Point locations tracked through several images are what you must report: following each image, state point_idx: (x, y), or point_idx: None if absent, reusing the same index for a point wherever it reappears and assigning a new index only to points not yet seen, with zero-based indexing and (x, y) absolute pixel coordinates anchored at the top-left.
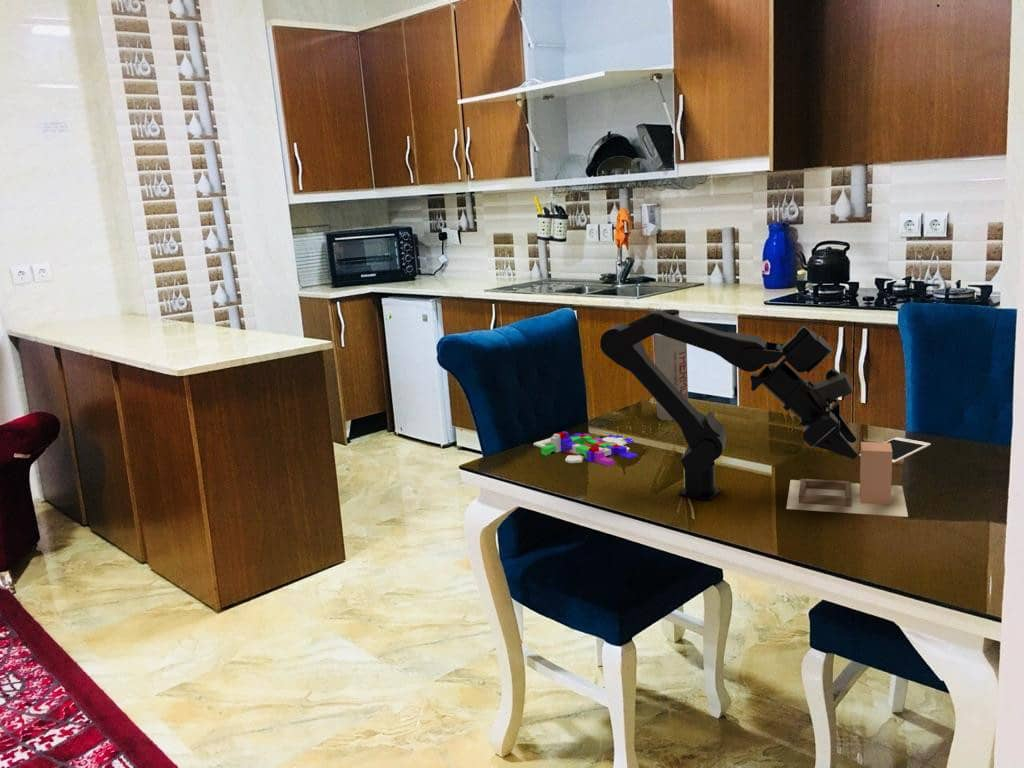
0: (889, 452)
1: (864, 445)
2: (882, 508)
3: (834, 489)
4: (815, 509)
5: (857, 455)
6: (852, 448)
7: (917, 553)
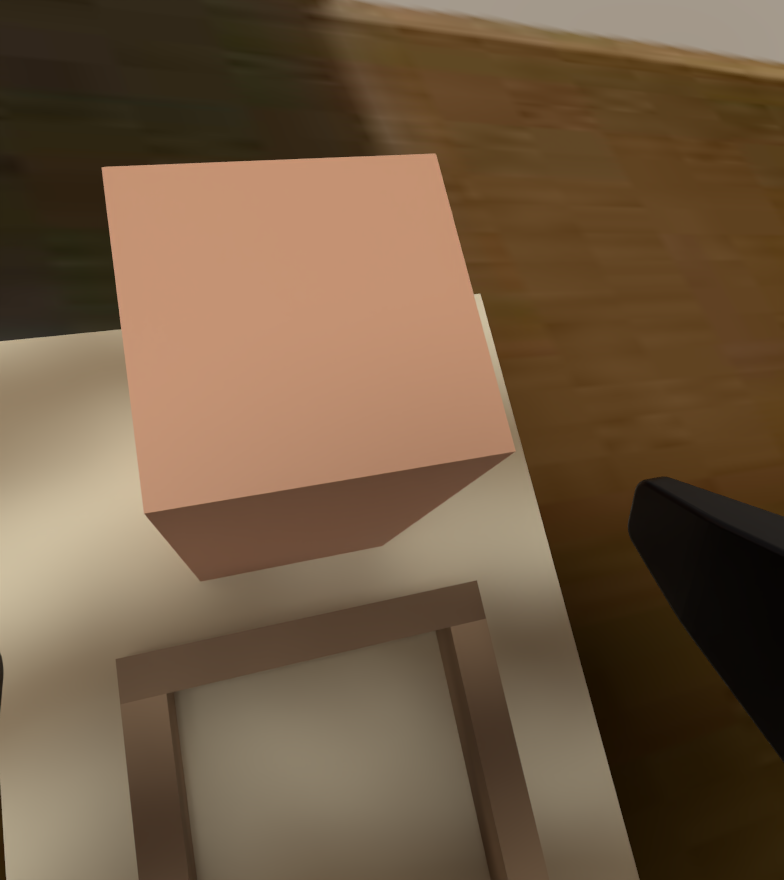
0: (438, 185)
1: (306, 445)
2: None
3: (183, 769)
4: (595, 788)
5: (663, 477)
6: (758, 514)
7: (760, 266)
